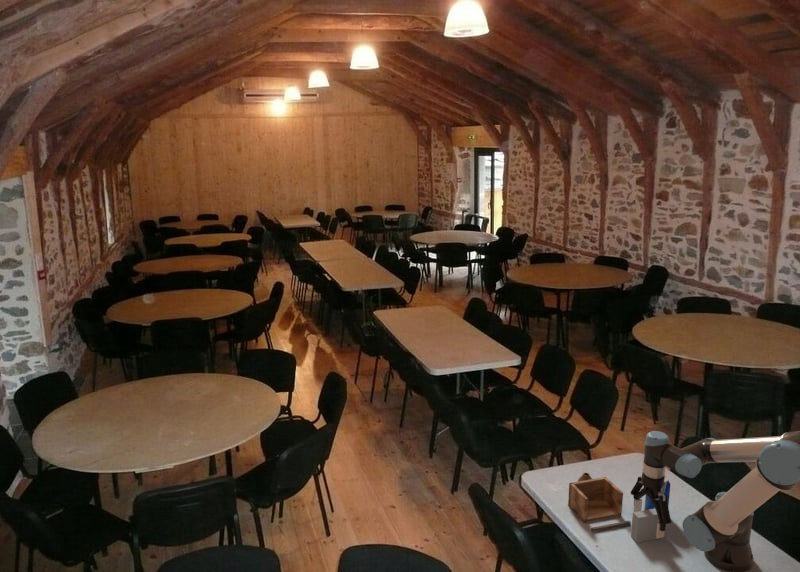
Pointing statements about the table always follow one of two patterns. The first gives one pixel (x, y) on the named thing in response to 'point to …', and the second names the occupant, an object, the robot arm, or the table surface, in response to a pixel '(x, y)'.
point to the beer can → (648, 501)
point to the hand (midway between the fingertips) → (648, 525)
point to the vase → (584, 477)
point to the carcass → (596, 501)
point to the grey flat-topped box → (645, 525)
